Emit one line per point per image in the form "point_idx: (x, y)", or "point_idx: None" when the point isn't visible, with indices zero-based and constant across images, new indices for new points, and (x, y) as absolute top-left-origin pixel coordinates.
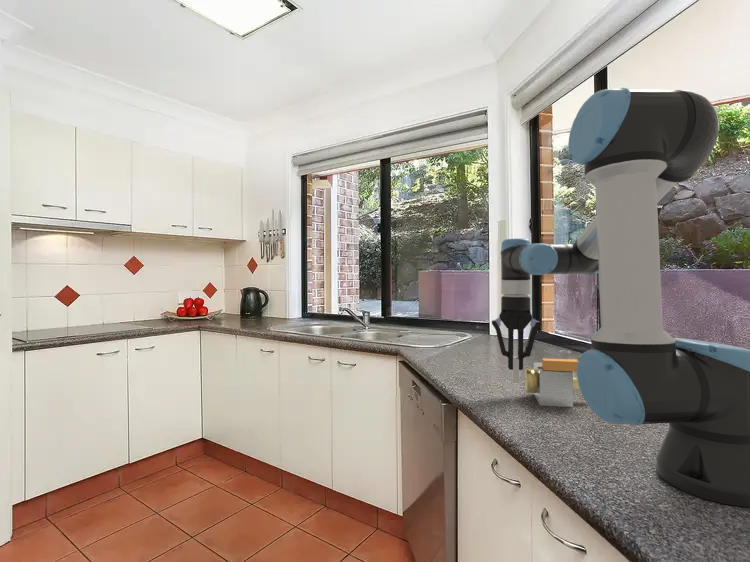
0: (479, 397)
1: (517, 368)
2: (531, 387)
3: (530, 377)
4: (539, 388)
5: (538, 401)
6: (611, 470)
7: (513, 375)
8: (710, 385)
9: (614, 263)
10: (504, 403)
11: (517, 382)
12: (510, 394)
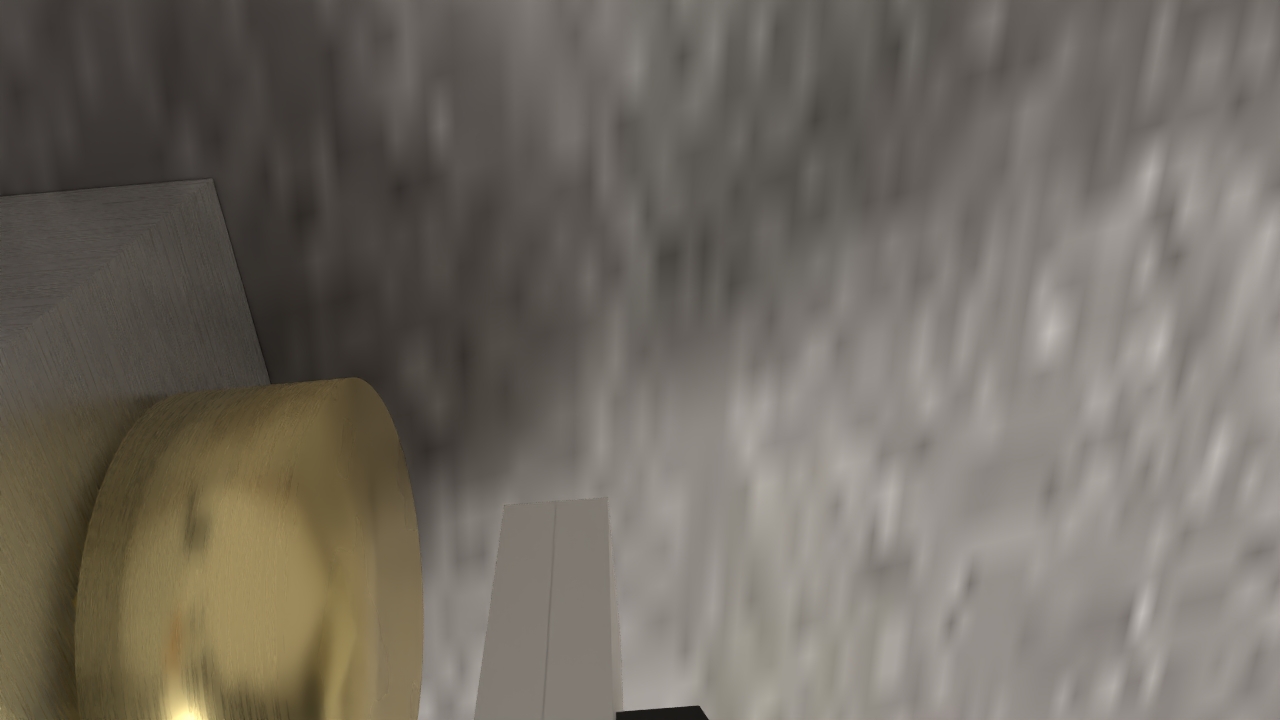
0: (1078, 315)
1: (508, 714)
2: (277, 388)
3: (235, 510)
4: (109, 311)
5: (238, 301)
6: None
7: (603, 585)
8: None
9: None
10: (737, 131)
11: (529, 509)
12: (636, 546)
